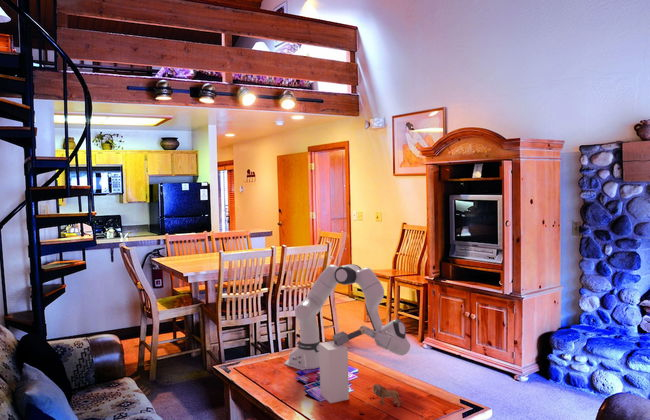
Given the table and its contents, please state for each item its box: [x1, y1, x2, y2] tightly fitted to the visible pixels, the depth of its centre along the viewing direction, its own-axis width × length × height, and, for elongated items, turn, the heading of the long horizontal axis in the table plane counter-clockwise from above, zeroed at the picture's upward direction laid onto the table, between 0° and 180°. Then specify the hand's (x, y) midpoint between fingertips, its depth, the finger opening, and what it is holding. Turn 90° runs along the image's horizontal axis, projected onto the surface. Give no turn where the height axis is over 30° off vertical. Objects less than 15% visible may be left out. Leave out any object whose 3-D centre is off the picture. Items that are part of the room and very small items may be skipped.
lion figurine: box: [372, 383, 405, 408], centre depth 238 cm, size 15×5×9 cm, turn 75°
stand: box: [319, 340, 350, 404], centre depth 247 cm, size 10×12×26 cm
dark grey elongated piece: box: [332, 326, 369, 346], centre depth 250 cm, size 18×5×4 cm, turn 114°
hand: (362, 329), depth 252 cm, fingers closed on dark grey elongated piece, 3 cm apart
